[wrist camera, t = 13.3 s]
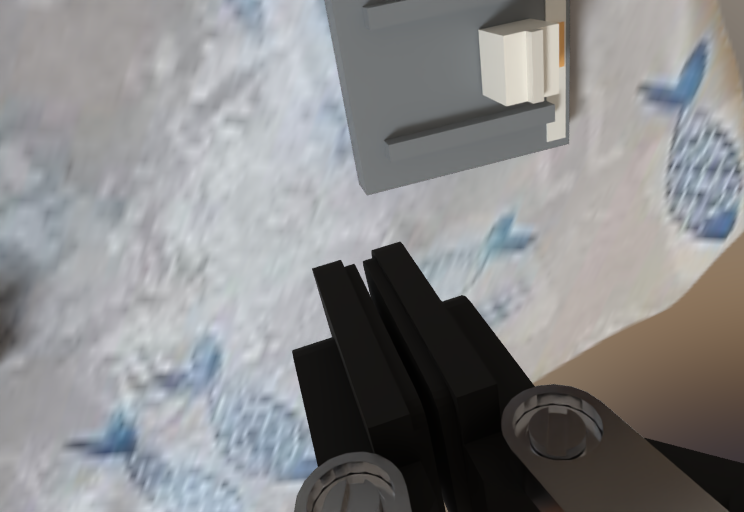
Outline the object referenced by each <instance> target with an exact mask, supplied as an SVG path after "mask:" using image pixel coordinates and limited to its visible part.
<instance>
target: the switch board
mask: <svg viewBox="0 0 744 512" xmlns="http://www.w3.org/2000/svg"><path fill="white" fill-rule="evenodd" d="M325 5H326V11H327V16H328V21H329V27H330V32H331V37H332V42H333V48H334V53H335V58H336V64H337V69H338V74H339V79H340V85H341V90H342V95H343V101H344V106H345V111H346V117H347V122H348V127H349V132H350V138H351V143H352V148H353V154H354V159H355V164H356V170H357V175H358V180H359V184H360V186H361V187H362V189H363V190H364V192H365V193H366V195H371V194H374V193H378V192H382V191H386V190H390V189H394V188H398V187H402V186H406V185H410V184H414V183H417V182H421V181H425V180H429V179H433V178H437V177H441V176H445V175H449V174H453V173H457V172H460V171H464V170H468V169H472V168H476V167H480V166H484V165H488V164H492V163H496V162H500V161H504V160H507V159H511V158H515V157H519V156H523V155H527V154H531V153H535V152H539V151H543V150H547V149H550V148H554V147H558V146H562V145H566V144H569V73H570V0H325ZM529 18H531V19H536V20H542V21H548V22H553V23H559V94H556V95H552V96H548V97H544V101H543V102H539V103H534V104H533V103H531V102H528V101H527V102H523V103H519V104H515V105H510V106H505V105H503V104H501V103H499V102H496V101H494V100H492V99H490V98H488V97H486V96H484V95H483V90H482V76H481V61H480V47H479V32H478V30H479V29H484V28H488V27H493V26H497V25H502V24H507V23H511V22H516V21H520V20H525V19H529Z"/></svg>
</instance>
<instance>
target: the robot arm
mask: <svg viewBox="0 0 744 512" xmlns="http://www.w3.org/2000/svg"><path fill="white" fill-rule="evenodd" d="M363 266H364V271H365V275H366V279H367V283H368V287H369V292H370V295H369V292H368V290H367V288H366V286H365V284H364V282H363V280H362V278H361V276H360V274H359V272H358V270H357V268H356V266H355V264H352V265H349V266H346V267H344V265H343V263H342V261H341V260H338V261H335V262H332V263H329V264H325V265H322V266H319V267H316V268H312V270H313V274H314V277H315V281H316V284H317V287H318V291H319V294H320V298H321V301H322V304H323V308H324V311H325V315H326V318H327V321H328V325H329V328H330V331H331V335H332V338H329V339H326V340H322V341H319V342H316V343H313V344H310V345H307V346H304V347H301V348H298V349H295V350H292V353H293V358H294V363H295V367H296V372H297V376H298V381H299V385H300V389H301V394H302V398H303V403H304V407H305V411H306V416H307V420H308V425H309V429H310V434H311V438H312V442H313V447H314V451H315V456H316V460H317V464H318V467H317V468H316V469H315V470H314V471H313V472H312V473H311V474H310V476H309V477H308V478H307V479H306V480H305V481H304V483H303V485H302V487H301V489H300V491H299V493H298V495H297V498H296V504H295V510H294V512H446V511H445V506H444V503H445V505H446V507H447V510H448V512H744V463H740V462H736V461H732V460H728V459H724V458H720V457H717V456H713V455H709V454H705V453H701V452H697V451H693V450H689V449H686V448H682V447H677V446H674V445H670V444H666V443H662V442H659V441H654V440H651V439H647V438H643V437H642V436H641V435H640V434H639V433H637V432H636V431H635V430H634V429H633V428H632V427H630V426H629V425H628V424H627V423H626V422H625V421H623V420H622V419H621V418H620V417H619V416H618V415H616V414H615V413H614V412H613V411H612V410H611V409H609V408H608V407H607V406H606V405H605V404H603V403H602V402H601V401H600V400H598V399H596V398H595V397H594V396H592V395H590V394H589V393H588V392H585V391H582V390H580V389H577V388H574V387H571V386H564V385H556V384H552V385H541V386H536V387H535V386H534V385H533V384H532V382H531V381H530V380H529V378H528V377H527V376H526V374H525V373H524V372H523V370H522V369H521V368H520V366H519V365H518V364H517V362H516V361H515V360H514V358H513V357H512V356H511V354H510V353H509V352H508V351H507V349H506V348H505V347H504V345H503V344H502V343H501V341H500V340H499V339H498V337H497V336H496V335H495V333H494V332H493V331H492V329H491V328H490V327H489V325H488V324H487V323H486V321H485V320H484V319H483V318H482V316H481V315H480V314H479V312H478V311H477V310H476V308H475V307H474V306H473V304H472V303H471V302H470V300H469V299H468V298H467V297H466V296H463V295H461V296H458V297H455V298H452V299H449V300H446V301H443V302H442V301H441V300H440V299H439V297H438V296H437V294H436V293H435V291H434V290H433V288H432V287H431V285H430V284H429V282H428V281H427V279H426V278H425V276H424V275H423V273H422V272H421V270H420V269H419V267H418V266H417V265H416V263H415V262H414V260H413V259H412V257H411V256H410V254H409V253H408V251H407V250H406V248H405V247H404V245H403V244H402V243H401V242H397V243H394V244H391V245H387V246H384V247H381V248H378V249H374V250H372V259H368V260H365V261H363ZM370 296H371V297H370Z"/></svg>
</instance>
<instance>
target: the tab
mask: <svg viewBox="0 0 744 512" xmlns="http://www.w3.org/2000/svg"><path fill="white" fill-rule="evenodd" d="M478 32H479V47H480V61H481V76H482V90H483V95H484V96H486V97H488V98H490V99H492V100H494V101H496V102H499V103H501V104H503V105H505V106H510V105H515V104H519V103H523V102H527V101H528V102H531V103H533V104H534V103H539V102H543V101H544V97H548V96H552V95H556V94H559V23H553V22H548V21H542V20H536V19H531V18H529V19H525V20H520V21H516V22H511V23H507V24H502V25H497V26H493V27H488V28H484V29H479V30H478Z"/></svg>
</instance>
